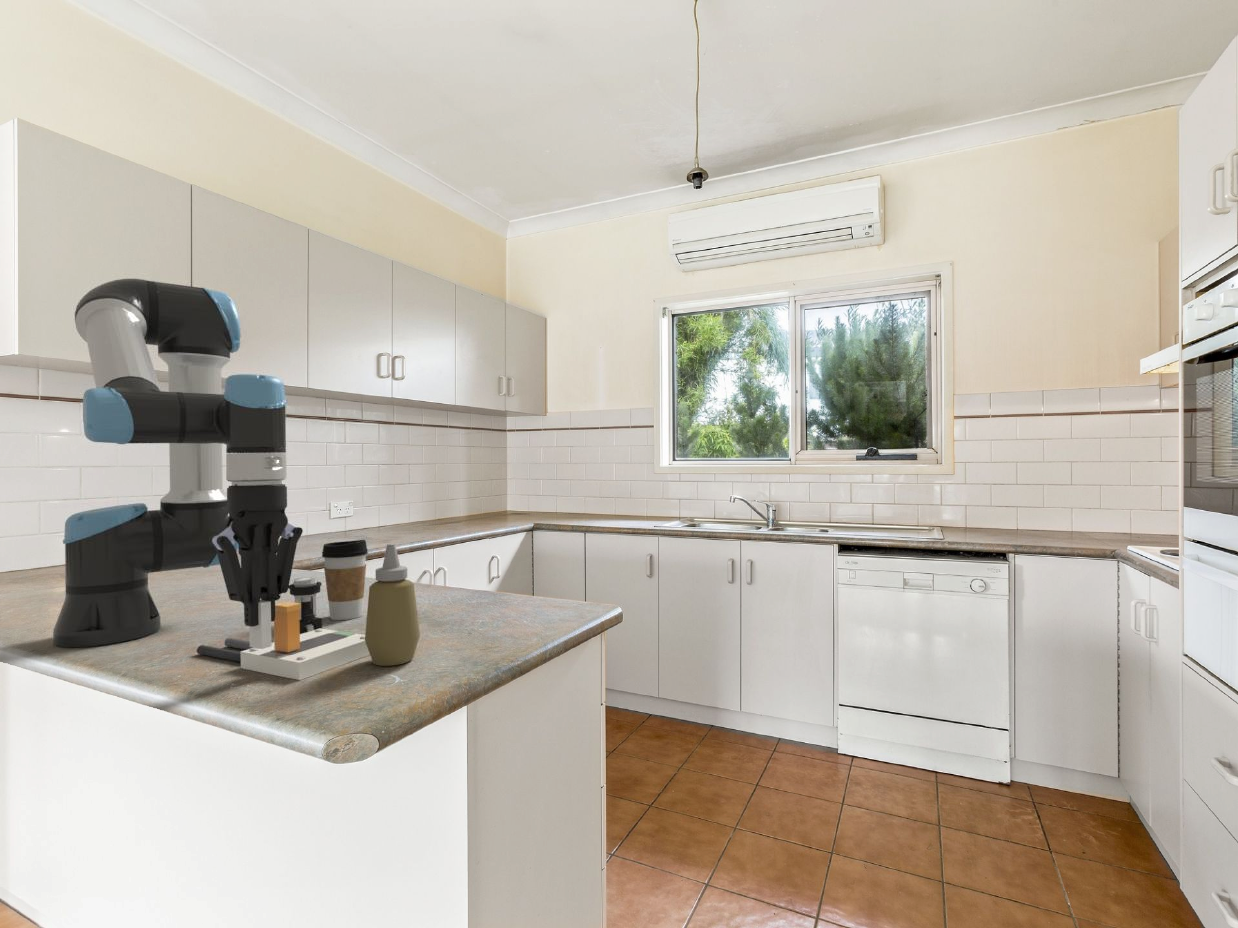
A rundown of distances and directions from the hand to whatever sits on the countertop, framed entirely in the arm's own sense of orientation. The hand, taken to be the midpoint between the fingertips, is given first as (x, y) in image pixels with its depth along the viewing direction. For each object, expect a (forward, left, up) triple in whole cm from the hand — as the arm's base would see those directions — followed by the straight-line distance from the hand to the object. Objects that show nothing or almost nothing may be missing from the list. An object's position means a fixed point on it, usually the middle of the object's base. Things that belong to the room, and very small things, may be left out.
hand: (260, 646), depth 92 cm
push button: (-13, +17, -5) cm, 22 cm away
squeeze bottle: (+12, +13, -5) cm, 18 cm away
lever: (0, +4, -2) cm, 4 cm away
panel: (0, +8, -4) cm, 9 cm away
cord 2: (-13, +8, -4) cm, 16 cm away
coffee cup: (-17, +30, -5) cm, 35 cm away
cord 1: (-13, +3, -4) cm, 15 cm away
